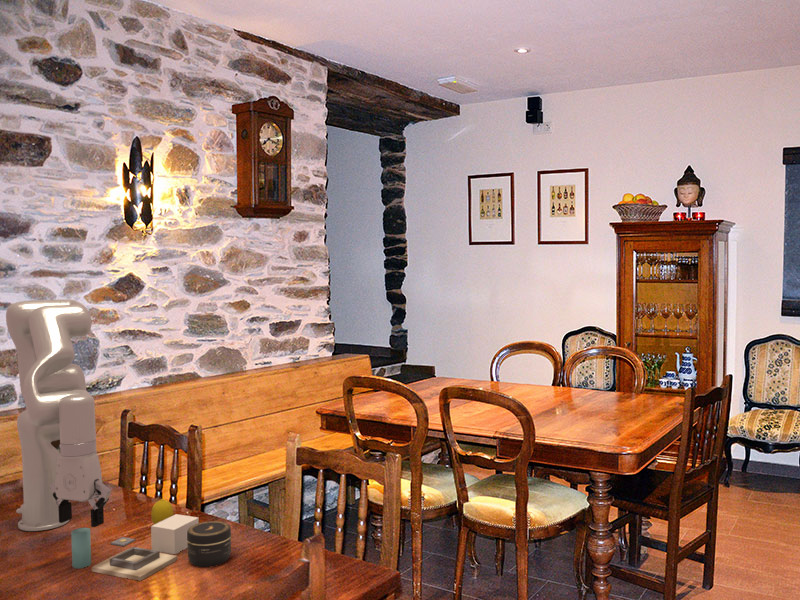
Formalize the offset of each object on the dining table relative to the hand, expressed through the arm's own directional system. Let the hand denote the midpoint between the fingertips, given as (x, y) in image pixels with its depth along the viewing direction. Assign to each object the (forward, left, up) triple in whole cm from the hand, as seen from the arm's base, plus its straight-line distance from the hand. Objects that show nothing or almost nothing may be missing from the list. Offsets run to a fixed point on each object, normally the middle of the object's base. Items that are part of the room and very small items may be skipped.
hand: (81, 523), depth 165 cm
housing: (+12, +17, -10) cm, 23 cm away
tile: (-2, +14, -10) cm, 18 cm away
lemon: (+1, +25, -10) cm, 27 cm away
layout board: (+11, +4, -10) cm, 16 cm away
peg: (-1, 0, -10) cm, 10 cm away
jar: (+25, +13, -10) cm, 30 cm away
